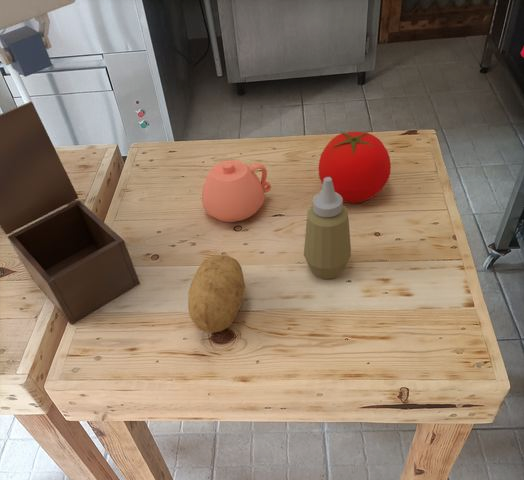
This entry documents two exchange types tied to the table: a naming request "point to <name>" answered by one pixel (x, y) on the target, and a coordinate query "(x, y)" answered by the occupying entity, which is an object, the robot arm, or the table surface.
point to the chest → (75, 260)
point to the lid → (29, 170)
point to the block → (26, 50)
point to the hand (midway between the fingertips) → (27, 55)
